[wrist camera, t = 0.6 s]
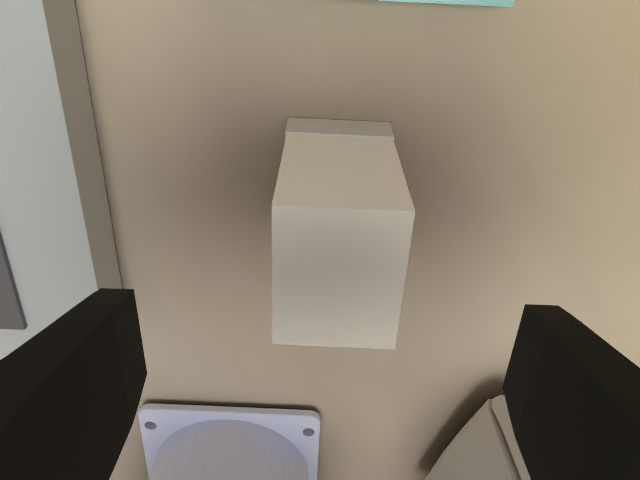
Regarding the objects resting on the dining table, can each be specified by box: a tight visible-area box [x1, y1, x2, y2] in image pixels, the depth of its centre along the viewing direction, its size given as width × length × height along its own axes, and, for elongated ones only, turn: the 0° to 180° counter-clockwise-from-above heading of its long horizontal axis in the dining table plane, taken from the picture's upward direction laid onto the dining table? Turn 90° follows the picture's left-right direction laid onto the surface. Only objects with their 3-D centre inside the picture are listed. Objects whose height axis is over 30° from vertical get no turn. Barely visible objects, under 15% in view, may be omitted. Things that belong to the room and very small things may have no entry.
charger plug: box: [272, 118, 415, 350], centre depth 16 cm, size 4×3×6 cm
